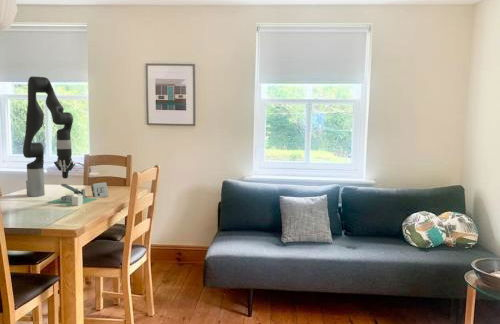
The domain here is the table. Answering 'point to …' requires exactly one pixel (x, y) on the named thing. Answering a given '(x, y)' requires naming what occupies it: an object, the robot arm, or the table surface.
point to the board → (71, 203)
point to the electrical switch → (99, 190)
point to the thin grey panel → (71, 188)
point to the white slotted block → (67, 199)
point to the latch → (76, 199)
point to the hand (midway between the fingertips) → (65, 178)
